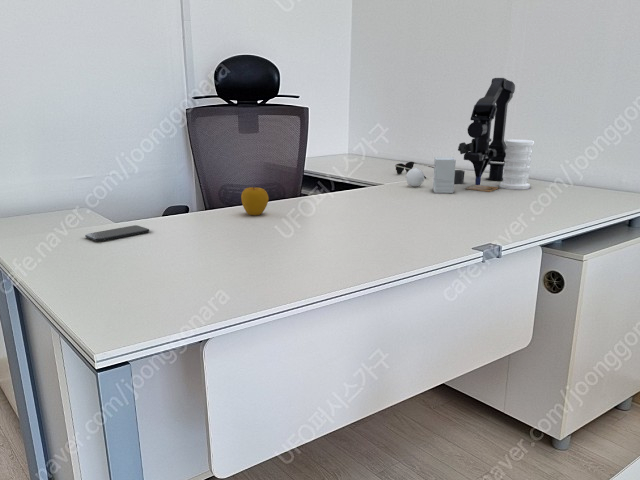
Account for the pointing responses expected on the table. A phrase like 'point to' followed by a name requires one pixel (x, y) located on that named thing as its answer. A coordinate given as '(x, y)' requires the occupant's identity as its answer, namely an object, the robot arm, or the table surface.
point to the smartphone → (117, 233)
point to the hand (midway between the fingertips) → (478, 177)
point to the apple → (254, 200)
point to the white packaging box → (444, 174)
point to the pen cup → (459, 177)
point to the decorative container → (517, 164)
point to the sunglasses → (406, 167)
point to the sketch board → (482, 188)
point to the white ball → (415, 177)
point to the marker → (478, 180)
